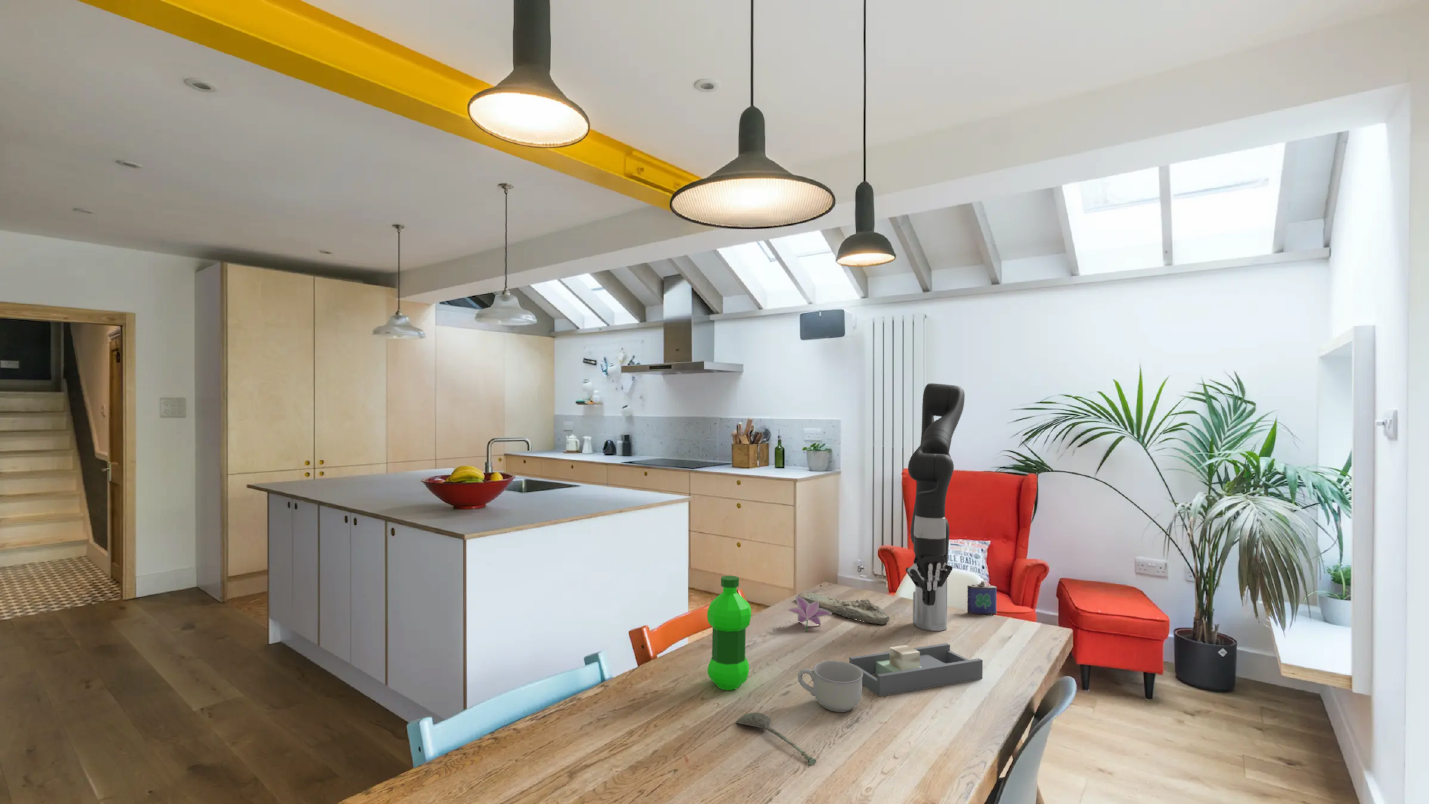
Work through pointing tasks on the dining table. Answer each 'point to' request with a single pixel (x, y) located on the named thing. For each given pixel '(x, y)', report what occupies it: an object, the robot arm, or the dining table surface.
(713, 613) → the plastic bottle
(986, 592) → the blue clover-printed container
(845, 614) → the long grey stone
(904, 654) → the block
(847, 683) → the teacup
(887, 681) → the trap lane
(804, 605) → the lily
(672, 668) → the dining table surface
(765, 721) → the soupspoon
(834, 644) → the dining table surface
